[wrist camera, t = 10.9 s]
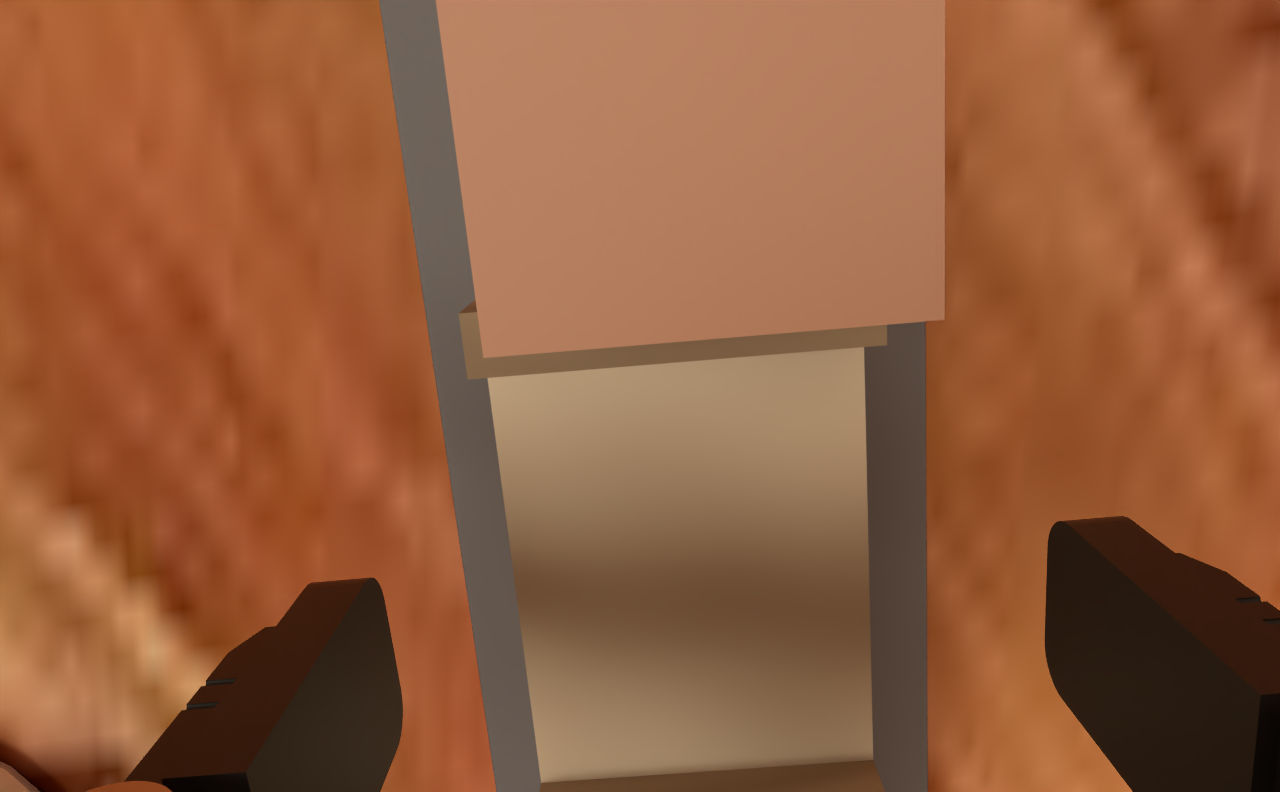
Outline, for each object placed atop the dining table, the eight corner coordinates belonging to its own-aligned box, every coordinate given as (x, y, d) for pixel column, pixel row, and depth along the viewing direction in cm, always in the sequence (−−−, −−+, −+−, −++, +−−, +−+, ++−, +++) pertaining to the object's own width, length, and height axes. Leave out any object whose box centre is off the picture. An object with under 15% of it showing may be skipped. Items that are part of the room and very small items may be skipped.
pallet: (478, -107, 15) (378, -264, 9) (788, -137, 14) (877, -316, 9) (598, 906, 20) (580, 1197, 14) (828, 891, 20) (900, 1180, 14)
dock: (415, -142, 19) (344, -233, 14) (856, -186, 18) (922, -291, 14) (546, 840, 25) (525, 986, 20) (878, 817, 24) (928, 961, 20)
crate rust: (498, -45, 11) (415, -155, 7) (836, -76, 11) (944, -207, 7) (536, 291, 12) (482, 358, 8) (845, 265, 12) (944, 319, 8)
